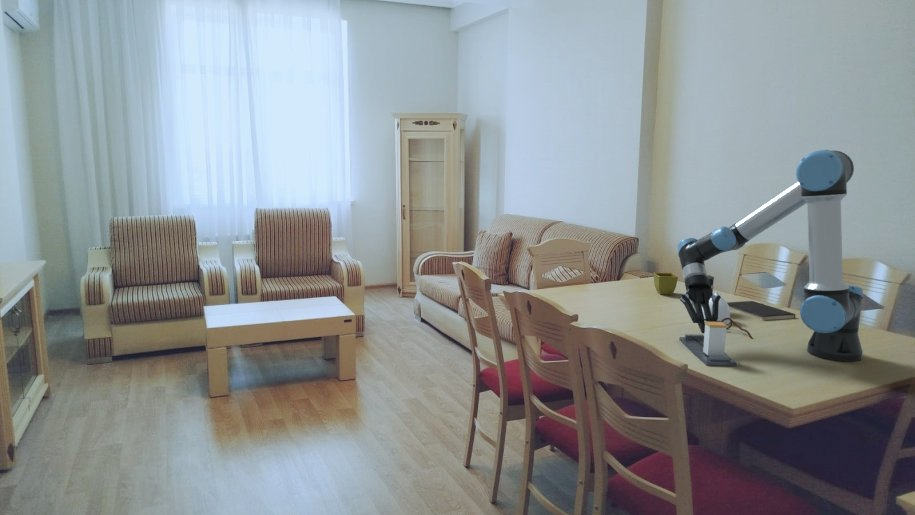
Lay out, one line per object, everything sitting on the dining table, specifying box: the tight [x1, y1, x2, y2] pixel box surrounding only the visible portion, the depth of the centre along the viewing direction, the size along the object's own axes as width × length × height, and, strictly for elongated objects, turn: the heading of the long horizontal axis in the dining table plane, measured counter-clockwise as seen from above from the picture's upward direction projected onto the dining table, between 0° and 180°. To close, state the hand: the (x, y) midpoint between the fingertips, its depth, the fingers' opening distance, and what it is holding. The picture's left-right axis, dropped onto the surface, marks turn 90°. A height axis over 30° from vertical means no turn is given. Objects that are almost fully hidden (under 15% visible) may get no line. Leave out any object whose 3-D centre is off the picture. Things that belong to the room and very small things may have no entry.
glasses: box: [698, 317, 754, 340], centre depth 220 cm, size 13×13×5 cm
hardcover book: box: [726, 300, 796, 321], centre depth 253 cm, size 16×23×2 cm
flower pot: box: [653, 272, 679, 295], centre depth 285 cm, size 9×9×9 cm
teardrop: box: [702, 290, 731, 325], centre depth 238 cm, size 11×11×12 cm
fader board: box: [678, 333, 738, 367], centre depth 199 cm, size 26×9×2 cm, turn 178°
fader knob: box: [703, 322, 728, 355], centre depth 192 cm, size 4×5×10 cm
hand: (710, 341), depth 196 cm, fingers closed
